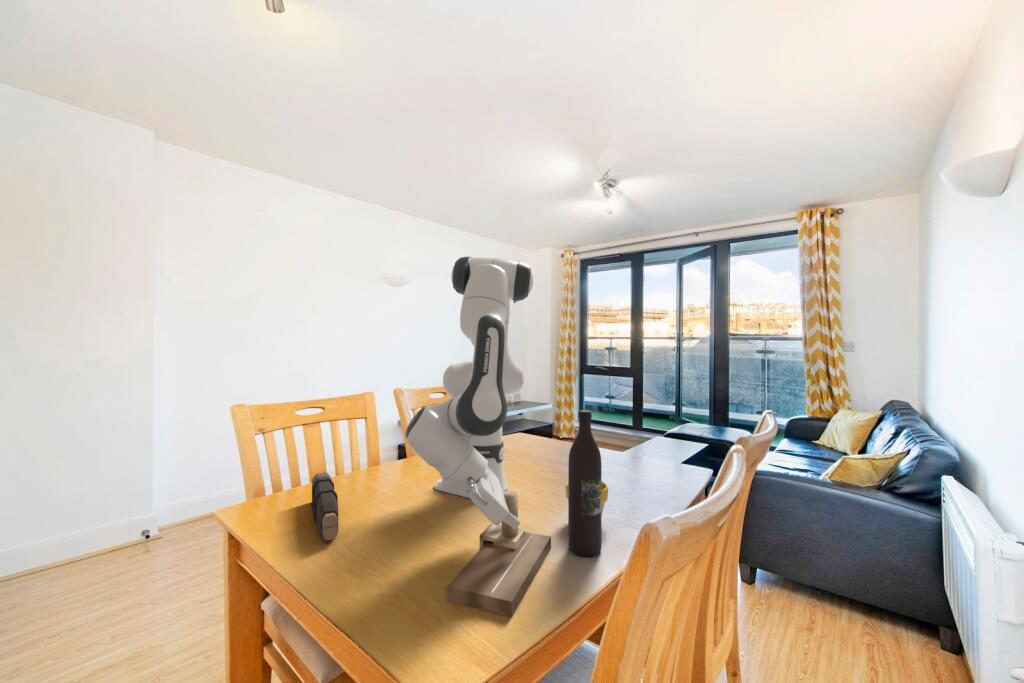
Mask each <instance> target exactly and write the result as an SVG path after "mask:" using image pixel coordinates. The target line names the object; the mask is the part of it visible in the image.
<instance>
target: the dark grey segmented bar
mask: <svg viewBox="0 0 1024 683" xmlns="http://www.w3.org/2000/svg"><path fill="white" fill-rule="evenodd" d="M338 499H339V498H338V493H337V492H336V490H335V483H334V481H333V479H332V476H331V475H330V474H329V472H327V471H322V472H317V473H315V475H314V476H313V477H312V479H311V502H310V510H311V513H313V520H314V521H315V522H316V526H317V531H318V533H319V535H320V536H321V538H322V539H323V540H324V541H330V540H335V539H336V537H337V535H338V533H339V503H338Z"/></svg>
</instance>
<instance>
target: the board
mask: <svg viewBox="0 0 1024 683" xmlns="http://www.w3.org/2000/svg"><path fill="white" fill-rule="evenodd" d="M551 549H552V536H551V535H545V534H540V533H539V534H538V533H533V532H530V531H529V532H528V531H525V538H524V539H523V540H522V542H521V543H520V545H519V546H518V547H517V549H511V548H506V547H500V546H495V545H494V542H493V541H488V542H487V543H486V544H485V545H484V546H483V547H482V548H481V549H480V548H479V550H478V551H477V552H476V553H475V555H474V556H472V558H471V559H470V560H469V561H468V562H467V564H466V565H465V566H464V567H463V568H462V569H461V570H460V571H459V572H458V573H457V575H456V576H454V578H453V579H452V580H451V581H450V582H449V583H448V584H447V588H446V589H447V590H446V591H447V592H446V593H447V594H446V595H447V596H446V600H447V601H449V602H453V603H456V604H460V605H464V606H467V607H472V608H476V609H479V610H484V611H487V612H491V613H494V614H498V615H502V616H506V617H510V618H513V616H514V614H515V613H516V611H517V609H518V607H519V606H520V603H521V601H522V600H523V598H524V597H525V594H526V593H527V591H528V589H529V588H530V586H531V584H532V582H533V580H534V579H535V577H536V575H537V573H538V572H539V570H540V568H541V566H542V564H543V563H544V561H545V560H546V558H547V556H548V554H549V553H550V550H551Z"/></svg>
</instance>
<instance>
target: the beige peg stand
mask: <svg viewBox="0 0 1024 683" xmlns="http://www.w3.org/2000/svg"><path fill="white" fill-rule="evenodd" d="M503 494H504V497H505V501H506V504H507V507H508V510H509V512H510V513H511V514H512V515H514V516H515V517H516V518H518V519H519V493H518V492H517V491H514V490H505V491H504V492H503ZM525 532H526V529H524V528H519V526H518V527H517V528H516V529H513V528H512V527H511V526H510V525H509V524H506V523H504V522H503V521H502V522H501V524H499V525H495V524H493V523H490V524H489V525H488V526H487V527H486V528H485V529H484V530H483V531H482V532H481V533H480V535H479V550H480V549H481V548H482V547H483V546H484V545H485V544H486V543H487V542H488V541H493V542H494V545H495V546H500V547H506V548H511V549H517V547H518V546H519V545H520V543H521V542H522V540H523V539H524V538H525Z"/></svg>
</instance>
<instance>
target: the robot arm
mask: <svg viewBox="0 0 1024 683" xmlns="http://www.w3.org/2000/svg"><path fill="white" fill-rule="evenodd" d="M450 275H451V277H450V278H451V283H452V288H453V289H454V291H455V292H456V293H458V294H460V295H463V296H462V302H461V306H460V312H459V313H460V315H459V323H460V324H459V326H460V330H461V332H462V334H463V335H464V336H465V337H466V338H467V339H469V340H470V342H471V345H472V346H473V357H472V361H462V362H458V363H454V364H450V365H449V366H447V367H446V370H445V371H444V373H443V376H442V384H443V389H444V390H445V392H446V394H447V395H449V396H450V397H451V398H449V399H447V400H445V401H442V402H440V403H439V402H438V403H437V404H434V405H429V406H423V407H422V408H420V409H419V410H418V412H417V413H416V414H415V415H414V416H413V418H412V419H411V420H410V422H409V423H408V426H407V427H406V430H405V439H406V441H407V443H408V445H409V446H410V447H411V449H412V450H414V452H415V453H416V454H417V456H419V457H420V458H421V459H422V461H424V463H426V464H427V465H428V466H430V467H432V468H434V469H435V470H436V471H437V472H438V474H439V475H440V477H441V478H440V479H438V480H437V481H436V482H435V484H434V490H437V491H440V492H445V493H447V494H451V495H456V496H459V497H463V498H467V499H470V500H471V501H472V503H473V504H474V506H476V508H477V509H478V510H479V511H480V512H481V513H482V514H483V515H484V516H485V517H486V518H487V519H488V520H489V521H490V522H491V524H495V525H501V524H502V521H503V522H504V523H506V524H509V525H510V526H511V527H512V528H513V529H516V528H517V527H518V528H519V526H520V524H521V522H520V520H519V517H518V518H516V517H515V516H514V515H512V514H511V513H510V512H509V510H508V507H507V504H506V501H505V497H504V494H503V492H505V491H507V489H508V484H507V480H506V476H505V470H504V458H505V448H504V447H505V445H504V441H503V425H504V423H505V421H506V418H507V415H508V404H507V403H508V402H507V399H506V396H510V395H514V394H516V393H519V392H520V391H521V389H522V387H523V386H524V383H525V375H524V371H523V369H522V368H521V366H520V365H519V364H518V363H517V362H516V361H515V360H514V359H513V358H512V356H511V354H510V353H511V352H510V351H509V346H508V342H509V341H508V339H509V338H508V336H509V326H510V316H511V314H510V313H511V301H513V304H516V303H517V302H520V301H521V302H522V301H524V300H525V299H526V298H528V296H529V295H530V293H531V291H532V289H533V286H534V276H533V272H532V267H530V265H529V264H528V263H525V262H521V261H515V260H510V259H504V258H498V257H494V258H492V257H472V256H463V257H459V258H458V259H457V260H456V261H455V262H454V265H453V267H452V270H451V274H450Z"/></svg>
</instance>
